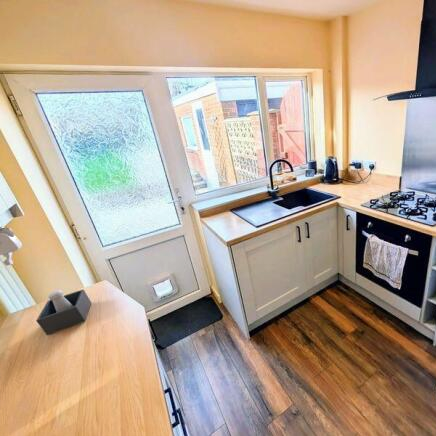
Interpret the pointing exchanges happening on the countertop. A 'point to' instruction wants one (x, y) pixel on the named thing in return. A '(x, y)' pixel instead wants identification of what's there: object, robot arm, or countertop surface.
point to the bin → (65, 313)
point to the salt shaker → (59, 301)
